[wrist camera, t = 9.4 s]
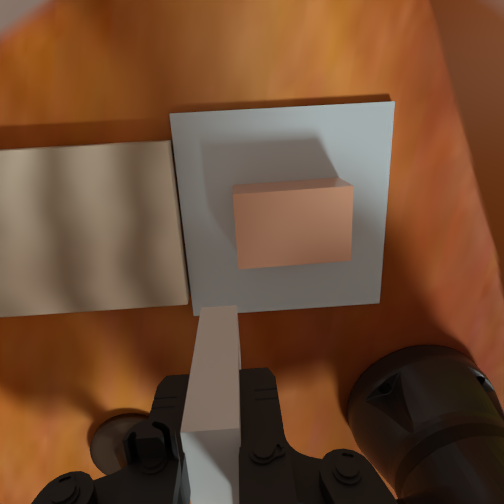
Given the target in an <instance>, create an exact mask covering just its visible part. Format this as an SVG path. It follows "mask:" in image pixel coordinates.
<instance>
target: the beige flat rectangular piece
mask: <svg viewBox="0 0 504 504" xmlns="http://www.w3.org/2000/svg"><path fill="white" fill-rule="evenodd" d="M189 296H190V291H189V283H188V275H187V266H186V258H185V250H184V241H183V233H182V225H181V217H180V208H179V200H178V192H177V184H176V175H175V167H174V159H173V151H172V142H171V140H159V141H142V142H124V143H106V144H88V145H70V146H52V147H34V148H17V149H0V317H14V316H29V315H43V314H58V313H73V312H87V311H102V310H116V309H131V308H145V307H160V306H175V305H188V300H189Z"/></svg>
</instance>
